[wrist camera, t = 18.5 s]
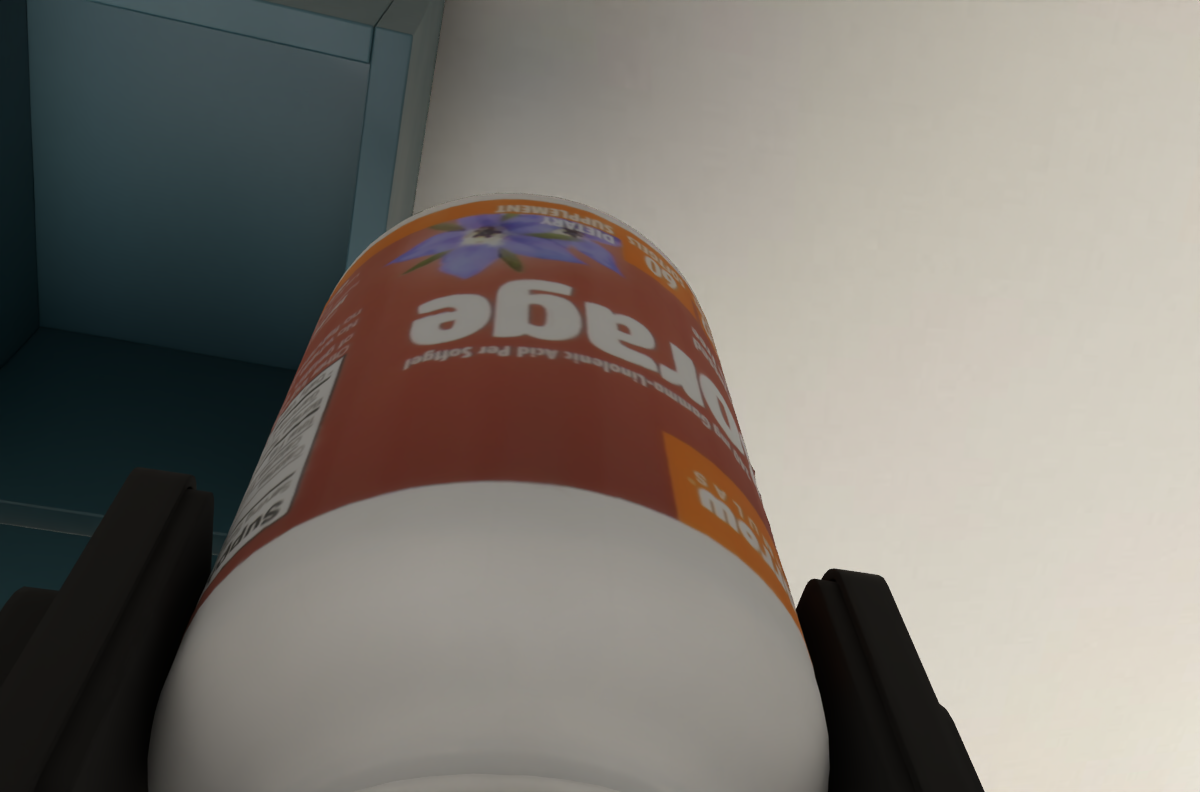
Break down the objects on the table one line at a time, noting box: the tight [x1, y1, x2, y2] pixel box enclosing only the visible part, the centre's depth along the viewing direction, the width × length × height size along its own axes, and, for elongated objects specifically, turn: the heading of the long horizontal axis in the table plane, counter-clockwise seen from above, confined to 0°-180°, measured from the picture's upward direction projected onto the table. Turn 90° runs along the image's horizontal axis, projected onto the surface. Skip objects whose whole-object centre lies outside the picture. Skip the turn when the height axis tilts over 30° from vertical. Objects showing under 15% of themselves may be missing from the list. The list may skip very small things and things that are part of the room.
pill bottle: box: [147, 193, 830, 792], centre depth 11 cm, size 6×6×11 cm
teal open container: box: [0, 0, 445, 555], centre depth 28 cm, size 15×12×10 cm
